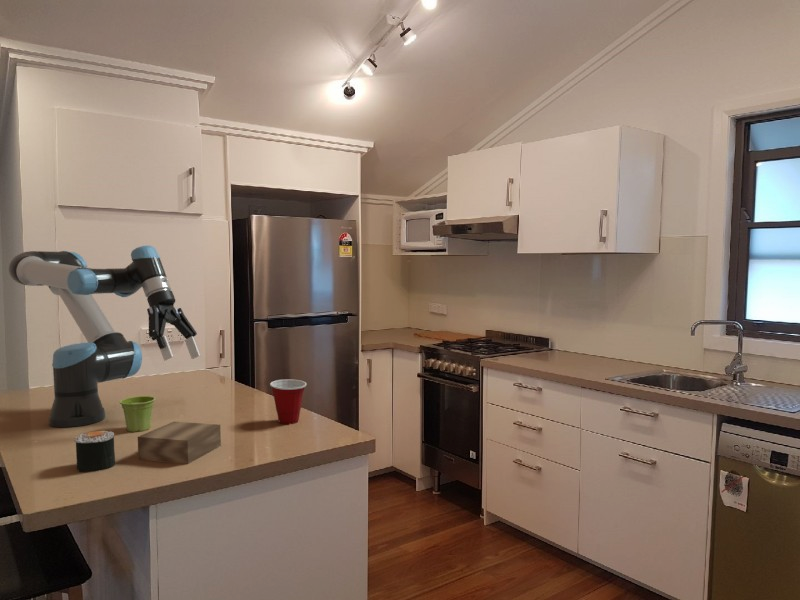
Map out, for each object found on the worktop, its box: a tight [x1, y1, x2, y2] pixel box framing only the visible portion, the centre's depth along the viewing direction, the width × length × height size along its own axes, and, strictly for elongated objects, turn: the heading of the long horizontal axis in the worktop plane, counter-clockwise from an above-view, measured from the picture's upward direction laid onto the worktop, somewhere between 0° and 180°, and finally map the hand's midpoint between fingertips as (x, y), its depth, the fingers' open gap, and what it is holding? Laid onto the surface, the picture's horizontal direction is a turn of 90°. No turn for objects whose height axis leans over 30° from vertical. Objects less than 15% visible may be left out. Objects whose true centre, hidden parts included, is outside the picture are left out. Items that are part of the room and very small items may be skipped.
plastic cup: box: [269, 378, 308, 425], centre depth 173 cm, size 11×11×12 cm
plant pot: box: [119, 395, 156, 433], centre depth 168 cm, size 9×9×9 cm
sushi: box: [74, 430, 116, 473], centre depth 137 cm, size 8×8×8 cm
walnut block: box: [137, 421, 222, 465], centre depth 146 cm, size 14×14×6 cm
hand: (183, 358), depth 172 cm, fingers open, 13 cm apart
